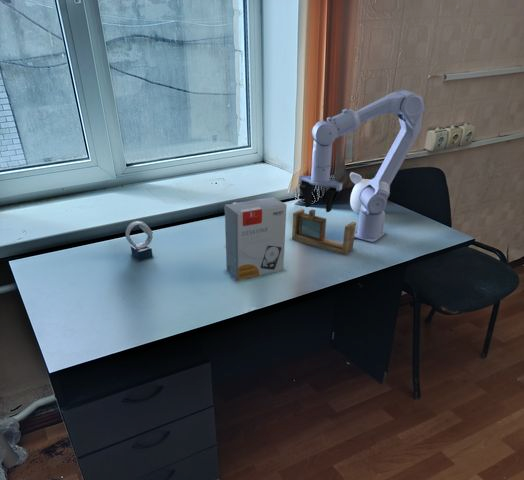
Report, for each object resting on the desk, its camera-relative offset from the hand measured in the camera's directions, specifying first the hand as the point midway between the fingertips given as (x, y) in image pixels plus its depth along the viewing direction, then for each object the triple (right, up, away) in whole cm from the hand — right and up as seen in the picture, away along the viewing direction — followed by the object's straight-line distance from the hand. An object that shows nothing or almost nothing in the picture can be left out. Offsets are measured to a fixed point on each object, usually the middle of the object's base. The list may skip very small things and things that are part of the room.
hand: (318, 208), depth 154 cm
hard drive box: (-20, -22, -13) cm, 32 cm away
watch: (-55, -16, -5) cm, 58 cm away
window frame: (+1, -11, +3) cm, 11 cm away
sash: (-2, -9, +3) cm, 9 cm away
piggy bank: (+19, +5, +25) cm, 32 cm away
